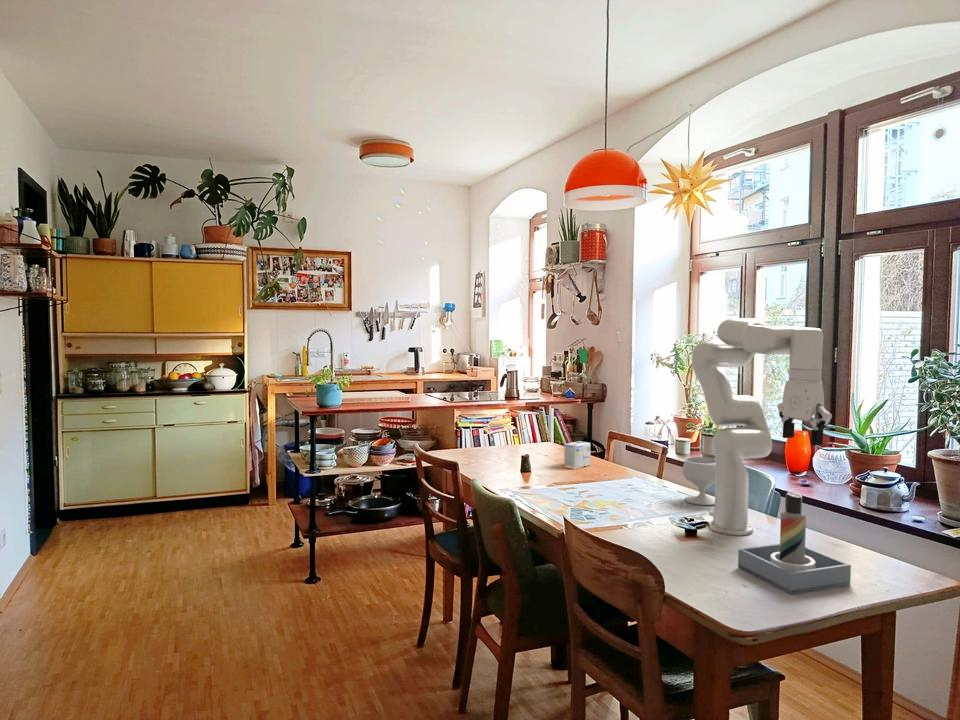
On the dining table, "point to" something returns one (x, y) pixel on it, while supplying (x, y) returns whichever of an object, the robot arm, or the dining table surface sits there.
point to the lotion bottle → (792, 530)
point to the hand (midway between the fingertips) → (802, 441)
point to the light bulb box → (577, 454)
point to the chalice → (700, 478)
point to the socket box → (794, 569)
